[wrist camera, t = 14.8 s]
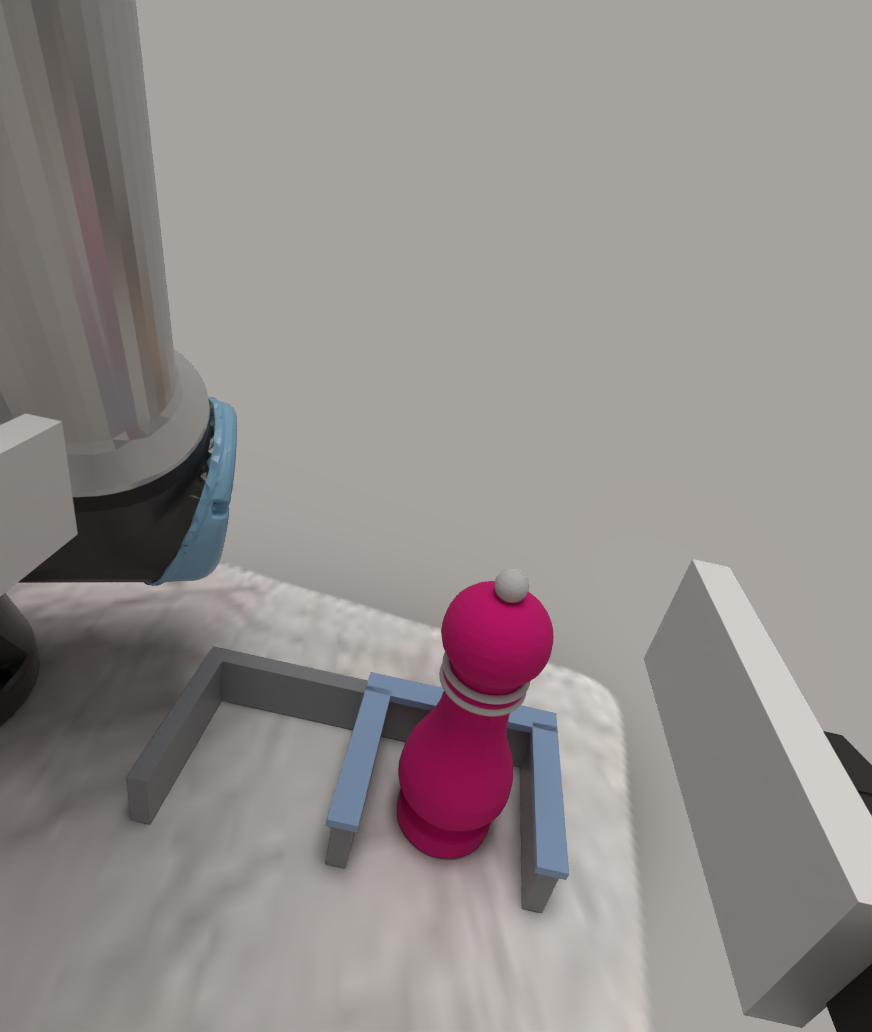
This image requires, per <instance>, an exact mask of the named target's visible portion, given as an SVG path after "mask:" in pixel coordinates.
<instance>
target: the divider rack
mask: <svg viewBox="0 0 872 1032" xmlns="http://www.w3.org/2000/svg"><path fill="white" fill-rule="evenodd" d="M443 691H444V689H443V688H440V687H436V686H431V685H427V684H422V683H418V682H413V681H409V680H404V679H400V678H395V677H391V676H386V675H382V674H377V673H373V672H371V673H370V677H369V680H368V681H367V680H362V679H358V678H353V677H349V676H344V675H340V674H335V673H331V672H326V671H322V670H317V669H313V668H308V667H304V666H299V665H295V664H290V663H286V662H281V661H277V660H272V659H268V658H263V657H259V656H254V655H250V654H245V653H241V652H236V651H232V650H227V649H223V648H218V647H214V646H213V647H212V649H211V650H210V652H209V653H208V655H207V656H206V658H205V659H204V661H203V662H202V664H201V665H200V667H199V668H198V670H197V671H196V673H195V674H194V676H193V677H192V679H191V680H190V682H189V683H188V685H187V686H186V688H185V689H184V691H183V692H182V694H181V695H180V697H179V698H178V700H177V701H176V703H175V704H174V706H173V707H172V709H171V710H170V712H169V713H168V715H167V716H166V718H165V719H164V721H163V722H162V724H161V725H160V727H159V729H158V730H157V732H156V733H155V735H154V736H153V738H152V739H151V741H150V742H149V744H148V745H147V747H146V748H145V750H144V751H143V753H142V754H141V756H140V757H139V759H138V760H137V762H136V763H135V765H134V766H133V768H132V769H131V771H130V772H129V774H128V775H127V777H126V782H127V790H128V799H129V808H130V817H131V820H133V821H137V822H142V823H146V824H151V822H152V821H153V819H154V817H155V815H156V814H157V812H158V810H159V808H160V807H161V805H162V803H163V801H164V800H165V798H166V796H167V795H168V793H169V791H170V789H171V788H172V786H173V784H174V782H175V781H176V779H177V777H178V776H179V774H180V772H181V770H182V769H183V767H184V765H185V763H186V762H187V760H188V758H189V756H190V755H191V753H192V751H193V750H194V748H195V746H196V744H197V743H198V741H199V739H200V737H201V736H202V734H203V732H204V730H205V729H206V727H207V725H208V724H209V722H210V720H211V718H212V717H213V715H214V713H215V711H216V710H217V708H218V706H219V705H220V703H221V701H226V702H230V703H235V704H239V705H244V706H248V707H253V708H257V709H262V710H266V711H271V712H275V713H280V714H284V715H289V716H293V717H298V718H302V719H307V720H311V721H316V722H320V723H325V724H329V725H333V726H338V727H342V728H347V729H351V730H353V733H352V737H351V740H350V743H349V747H348V750H347V753H346V757H345V760H344V763H343V767H342V770H341V773H340V777H339V780H338V783H337V787H336V790H335V793H334V797H333V800H332V803H331V807H330V810H329V813H328V817H327V821H326V826H329V827H331V833H330V839H329V845H328V852H327V858H326V864H327V865H332V866H336V867H341V868H345V867H346V863H347V859H348V855H349V851H350V847H351V843H352V839H353V835H354V832H355V833H357V831H358V827H359V822H360V818H361V814H362V810H363V806H364V802H365V798H366V794H367V790H368V786H369V782H370V778H371V774H372V770H373V765H374V761H375V757H376V753H377V749H378V745H379V741H380V737H381V736H383V737H387V738H392V739H396V740H401V741H405V742H406V741H407V739H408V737H409V735H410V734H411V732H412V731H413V730H414V728H415V727H416V725H417V724H418V723H419V722H420V721H421V720H422V719H423V718H424V717H426V716H427V715H428V714H429V713H430V712H431V711H432V710H433V709H434V708H435V707H436V705H437V704H438V702H439V701H440V699H441V697H442V694H443ZM506 736H507V740H508V744H509V747H510V750H511V755H512V761H513V766H517V767H520V790H521V878H522V909H526V910H531V911H535V912H540V913H542V911H543V909H544V907H545V905H546V903H547V901H548V899H549V897H550V895H551V893H552V891H553V889H554V887H555V885H556V883H557V881H558V879H564V880H566V879H567V877H568V875H569V866H568V854H567V842H566V830H565V817H564V805H563V793H562V781H561V768H560V756H559V744H558V731H557V719H556V713H553V712H548V711H544V710H539V709H535V708H530V707H526V706H521V705H520V706H519V708H517V709H516V710H515V711H513V712H511V713H510V715H509V720H508V724H507V731H506Z"/></svg>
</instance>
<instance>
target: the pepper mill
mask: <svg viewBox="0 0 872 1032" xmlns="http://www.w3.org/2000/svg"><path fill="white" fill-rule="evenodd" d="M528 591H529V581H528V579H527V577H526V575H525V574H524V573H523V572H522V571H520V570H518V569H514V568H509V569H505V570H503V571H501V572H500V573H499V575H498V576H497V577H496V579H495V581H488V582H481V583H478V584H475V585H472V586H470V587H467V588H466V589H464V590H463V591H461V592H460V593H459V594H458V595H457V596H456V597H455V598H454V600H453V601H452V602H451V603H450V605H449V607H448V609H447V612H446V614H445V616H444V620H443V623H442V629H441V633H442V642H443V647H444V649H445V653H444V656H443V663H442V665H441V668H440V682H441V685H442V687H443V689H444V691H443V694H442V697H441V699H440V701H439V702H438V704H437V705H436V707H435V708H434V709H433V710H432V711H431V712H430V713H429V714H428V715H427V716H426V717H424V718H423V719H422V720H421V721H420V722H419V723H418V724H417V725H416V727H415V728H414V730H413V731H412V732H411V734H410V735H409V737H408V739H407V741H406V743H405V745H404V748H403V751H402V754H401V757H400V760H399V769H398V775H399V781H400V786H401V789H400V793H399V798H398V802H397V816H398V820H399V824H400V826H401V828H402V831H403V832H404V834H405V835H406V837H407V838H408V839H409V841H410V842H411V843H412V844H414V845H415V846H416V847H417V848H418V849H419V850H421V851H423V852H425V853H427V854H429V855H431V856H435V857H439V858H458V857H462V856H465V855H467V854H469V853H471V852H472V851H474V850H475V849H477V848H478V846H479V845H480V844H481V843H482V842H483V840H484V838H485V836H486V834H487V832H488V829H489V826H490V823H491V821H493V820H494V819H495V818H496V817H497V816H498V815H499V814H500V813H501V811H502V810H503V808H504V807H505V805H506V803H507V801H508V798H509V795H510V791H511V787H512V782H513V761H512V755H511V750H510V747H509V744H508V740H507V736H506V731H507V724H508V720H509V715H510V713H511V712H513V711H515V710H516V709H517V708H519V706H520V705H521V704H522V703H523V701H524V699H525V696H526V691H527V690H528V688H529V685H530V681H531V680H532V679H534V678H535V677H537V676H538V675H539V674H540V672H541V671H542V670H543V669H544V667H545V666H546V664H547V662H548V660H549V657H550V654H551V651H552V645H553V627H552V623H551V620H550V617H549V615H548V613H547V611H546V610H545V608H544V607H543V605H542V604H541V602H540V601H539V600H538V599H537V598H536V597H535V596H533V595H532V594H531V593H529V592H528Z"/></svg>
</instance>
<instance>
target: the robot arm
mask: <svg viewBox="0 0 872 1032" xmlns="http://www.w3.org/2000/svg"><path fill="white" fill-rule="evenodd" d="M154 175H155V174H154V165H153V157H152V147H151V138H150V128H149V119H148V111H147V101H146V92H145V83H144V73H143V64H142V55H141V46H140V36H139V27H138V18H137V9H136V0H0V725H2V724H3V723H4V722H5V721H6V720H7V719H8V718H9V717H10V716H11V715H12V714H13V713H14V712H15V711H16V710H17V709H18V708H19V707H20V706H21V704H22V703H23V702H24V701H25V699H26V698H27V696H28V695H29V693H30V692H31V690H32V688H33V686H34V684H35V681H36V679H37V675H38V671H39V656H38V651H37V646H36V641H35V636H34V633H33V631H32V628H31V626H30V624H29V623H28V621H27V620H26V618H25V617H24V616H23V615H22V613H21V612H20V611H19V610H18V608H17V607H16V606H15V605H14V603H13V602H12V601H11V600H10V598H9V597H8V596H7V595H6V593H5V592H6V591H8V590H9V589H10V588H11V587H13V586H14V585H15V584H16V583H47V582H144V583H145V584H147V585H152V586H157V585H160V584H162V583H164V582H176V581H195V580H199V579H202V578H204V577H206V576H208V575H209V574H211V573H212V572H213V571H214V570H215V568H216V567H217V565H218V563H219V561H220V558H221V555H222V551H223V547H224V542H225V536H226V531H227V525H228V518H229V507H228V505H229V503H230V500H231V493H232V489H233V480H234V470H235V458H236V445H237V416H236V412H235V410H234V408H233V407H232V406H230V405H229V404H228V403H224V402H220V401H218V400H217V399H216V398H213V397H208V395H207V391H206V387H205V384H204V382H203V380H202V378H201V376H200V374H199V373H198V371H197V370H196V369H195V368H194V366H193V365H192V364H191V363H190V362H189V361H188V360H187V359H186V358H185V357H184V356H183V355H182V354H180V353H179V352H177V351H176V350H175V349H174V348H173V340H172V332H171V321H170V313H169V303H168V294H167V285H166V276H165V266H164V257H163V248H162V240H161V229H160V220H159V211H158V202H157V193H156V184H155V176H154ZM644 661H645V664H646V668H647V671H648V675H649V679H650V682H651V685H652V689H653V693H654V696H655V700H656V704H657V707H658V711H659V714H660V718H661V721H662V725H663V728H664V732H665V736H666V739H667V742H668V746H669V750H670V753H671V757H672V761H673V764H674V768H675V771H676V775H677V778H678V782H679V786H680V789H681V793H682V796H683V799H684V803H685V807H686V810H687V814H688V817H689V821H690V825H691V828H692V832H693V836H694V839H695V843H696V846H697V849H698V853H699V857H700V860H701V864H702V868H703V871H704V875H705V878H706V881H707V885H708V889H709V893H710V896H711V899H712V903H713V907H714V910H715V914H716V917H717V921H718V925H719V928H720V932H721V935H722V939H723V942H724V946H725V949H726V953H727V956H728V960H729V964H730V967H731V971H732V975H733V978H734V981H735V985H736V988H737V992H738V996H739V999H740V1003H741V1007H742V1010H743V1014H744V1015H747V1016H751V1017H755V1018H760V1019H765V1020H769V1021H774V1022H778V1023H782V1024H787V1025H791V1026H796V1027H800V1028H803V1027H804V1026H805V1025H806V1024H807V1023H808V1022H809V1021H811V1020H812V1019H813V1018H814V1017H815V1016H816V1015H818V1013H820V1012H821V1011H822V1010H823V1009H825V1008H826V1007H827V1008H828V1011H829V1013H830V1016H831V1018H832V1021H833V1024H834V1026H835V1029H836V1031H837V1032H872V765H871V764H870V763H869V762H868V761H867V760H866V759H865V758H864V757H863V756H862V755H861V754H860V753H859V752H858V751H857V750H856V749H855V748H854V747H853V746H852V745H851V744H850V743H849V742H848V741H847V740H846V739H845V738H844V737H843V736H842V735H838V734H833V733H829V732H825V731H822V729H821V727H820V725H819V724H818V722H817V720H816V718H815V716H814V715H813V713H812V711H811V709H810V708H809V706H808V704H807V702H806V701H805V699H804V697H803V695H802V694H801V692H800V690H799V688H798V687H797V685H796V683H795V681H794V680H793V678H792V676H791V674H790V673H789V671H788V669H787V668H786V666H785V664H784V662H783V660H782V659H781V657H780V655H779V653H778V652H777V650H776V648H775V646H774V645H773V643H772V641H771V639H770V638H769V636H768V634H767V632H766V631H765V629H764V627H763V625H762V624H761V622H760V620H759V618H758V617H757V615H756V613H755V611H754V610H753V608H752V606H751V605H750V603H749V601H748V599H747V597H746V596H745V594H744V592H743V591H742V589H741V587H740V585H739V583H738V582H737V580H736V578H735V577H734V575H733V573H732V571H731V569H730V568H729V567H726V566H721V565H717V564H712V563H707V562H703V561H698V560H694V559H692V561H691V563H690V565H689V567H688V569H687V571H686V573H685V575H684V578H683V579H682V581H681V583H680V585H679V587H678V590H677V592H676V594H675V596H674V598H673V600H672V602H671V604H670V606H669V608H668V610H667V612H666V614H665V616H664V618H663V620H662V622H661V624H660V626H659V628H658V631H657V633H656V635H655V637H654V639H653V641H652V643H651V645H650V647H649V649H648V651H647V653H646V655H645V658H644Z"/></svg>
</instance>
